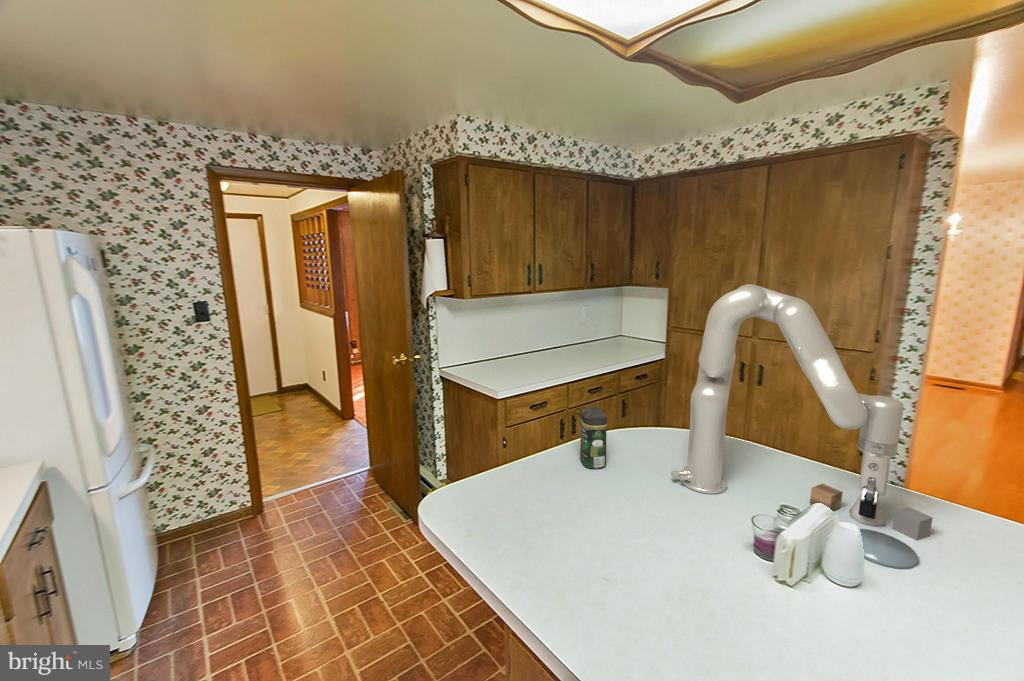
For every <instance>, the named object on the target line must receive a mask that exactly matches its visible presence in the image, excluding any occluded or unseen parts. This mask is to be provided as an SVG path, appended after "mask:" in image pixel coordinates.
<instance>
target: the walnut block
mask: <svg viewBox="0 0 1024 681" xmlns="http://www.w3.org/2000/svg"><path fill="white" fill-rule="evenodd" d="M809 498H810V499H809V505H810V506H812V504H815V503H822V504H824V505H826V506H827V507H829V508H830V509H831V510H832V511H834V512H835V511H838V510H841V507H842V500H843V499H842V498H843V491H842V490H839V489H837V488H834V487H832V486H830V485H827V484H826V483H823V482H822V483H820V484H817V485H814V486H812V487H811V490H810V497H809Z"/></svg>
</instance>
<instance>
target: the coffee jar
mask: <svg viewBox="0 0 1024 681" xmlns="http://www.w3.org/2000/svg"><path fill="white" fill-rule="evenodd" d="M607 428H608V416H607V414H606V412H604V411H603V410H602V409H600V408H598V407H597V406H589V407H588V406H586V407H585V408H583V409H581V411H580V447H579V449H580V451H579V452H580V453H579V454H580V455H579V459H580V462H581V463H582V465H583V466H584V467H585V468H587V469H593V470H597V469H598V470H600V469H601V468H605V467H606V466H607V431H608V430H607Z"/></svg>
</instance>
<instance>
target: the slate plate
mask: <svg viewBox="0 0 1024 681" xmlns="http://www.w3.org/2000/svg"><path fill="white" fill-rule="evenodd" d="M859 529H860V532H861V536H862V542H863V549H864V558H863V560H864V559H865V560H867V561H869V562H870V563H873V564H876V565H879V566H882V567H886V568H891V569H895V570H910V569H913V568H915V567H916V566H917V565H918V561H919V560H918V559H919V556H918V553H916V551H915V550H914V549H913V547H911V546H910V545H908V544H907V543H905V542H904V541H901V540H899V539H898V538H897V537H894V536H892V535H889V534H887V533H884V532H880V531H877V530H872V529H868V528H867V529H866V528H859Z"/></svg>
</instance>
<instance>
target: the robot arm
mask: <svg viewBox="0 0 1024 681" xmlns="http://www.w3.org/2000/svg"><path fill="white" fill-rule="evenodd" d="M753 317H754V318H758V319H761V320H764V321H766V322H770V323H773V324H776V325H777V326H778V328H779V329H780V331H781V334H782V335H783V337H784V339H785V340H786V342H787V344H788V346H789V348H790V349H791V352H792V353H793V355H794V357H795V359H796V362H798V365H799V366H800V368H801V370H802V372H803V373H804V375H805V377H807V379H808V380H809V382H810V384H811V386H812V388H813V389H814V391H815V392H816V395H817V397H818V398H819V400H820V402H821V404H822V406H823V407H824V409H825V410H826V413H827V415H828V416H829V419H830V420H831V422H832V423H833V424H834V425H835V426H837V427H838V428H840V429H843V430H847V431H851V430H852V431H853V430H858V429H859V434H858V435H859V436H858V442H857V449H858V450H859V451H861V452H862V457H861V458H862V459H861V466H860V480H859V482H860V483H859V489H860V490H861V492H863V494H862V493H861V494H862V499H861V500H860V506H859V515H861V516H864V517H868V518H871V519H875V515H876V508H877V504H876V499H877V494H878V497H879V496H881V497H884V496H885V495H886V492H887V486H888V478H889V472H890V467H891V466H890V464H891V458H895V457H896V456H897V455H898V454H897V452H898V448H899V447H898V446H899V441H900V435H901V434H900V433H901V427H902V421H903V414H904V409H905V406H904V404H903V402H902V401H901V400H899V399H897V398H894V397H890V396H885V395H870V394H869V395H868V394H865V393H864V394H863V393H858V391H857V390H856V388H855V387H854V385H853V382H852V381H851V379H850V378H849V376H848V373H847V371H846V369H845V368H844V365H843V364H842V361H841V358H840V356H839V354H838V353H837V351H836V349H835V347H834V345H833V343H832V342H831V340H830V338H829V336H828V335H827V333H826V331H825V329H824V327H823V326H822V323H821V322H820V320H819V318H818V316H817V314H816V312H815V310H814V309H813V308H812V306H811V305H810V304H809V303H808V302H807V301H805V300H804V299H802V298H799V297H795V296H792V295H788V294H786V293H783V292H779V291H775V290H773V289H769V288H766V287H764V286H761V285H756V284H750V283H747V284H743V285H741V286H740V287H737V288H736V289H734V290H731V291H730V292H727V293H726V294H724V295H722V296H721V297H719V299H717V300H716V301H715V302H714V304H713V305H712V306H711V307H710V310H709V311H708V315H707V318H706V322H705V327H704V332H703V337H702V342H701V348H700V353H699V355H698V365H699V366H698V371H697V376H696V377H697V378H696V384H695V386H694V387H693V389H692V393H691V395H690V403H689V405H690V406H689V407H690V409H689V410H690V412H689V413H690V415H689V416H690V417H689V432H688V434H689V436H688V448H687V449H688V450H687V465H683V469H680V470H671V472H670V476H671V478H678V479H679V481H680V482H681V483H682V484H683V486H685V487H686V488H689V489H690V490H693V491H695V492H698V493H702V494H708V495H709V494H710V495H711V494H712V495H713V494H714V495H715V494H716V495H717V494H721V493H723V492H725V491H726V490H727V487H728V486H727V485H728V484H727V481H726V480H725V479H724V477H722V476H723V464H724V463H723V462H724V451H725V440H726V426H727V412H728V407H729V405H728V404H729V398H730V393H731V392H730V390H731V386H732V380H733V374H734V369H735V364H736V357H737V355H736V345H737V341H738V340H737V339H738V336H739V330H740V326H741V325H742V323H743V322H744V321H745V320H747V319H749V318H753ZM868 480H869V481H868ZM865 488H867V489H865ZM873 490H876V491H873ZM865 493H866V494H865ZM873 494H874V496H873Z"/></svg>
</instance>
